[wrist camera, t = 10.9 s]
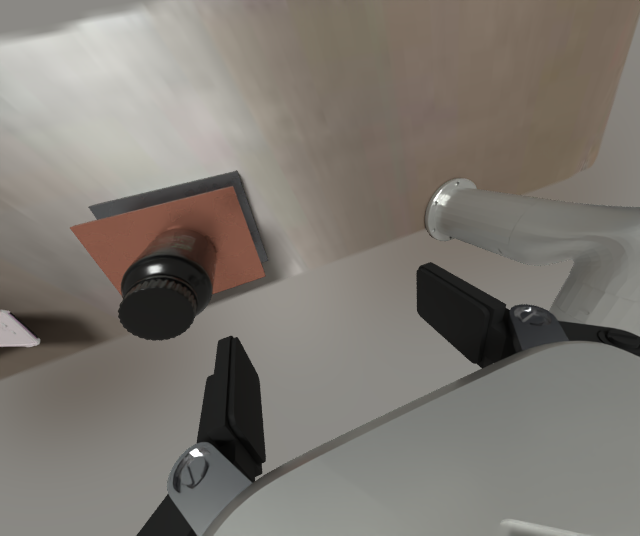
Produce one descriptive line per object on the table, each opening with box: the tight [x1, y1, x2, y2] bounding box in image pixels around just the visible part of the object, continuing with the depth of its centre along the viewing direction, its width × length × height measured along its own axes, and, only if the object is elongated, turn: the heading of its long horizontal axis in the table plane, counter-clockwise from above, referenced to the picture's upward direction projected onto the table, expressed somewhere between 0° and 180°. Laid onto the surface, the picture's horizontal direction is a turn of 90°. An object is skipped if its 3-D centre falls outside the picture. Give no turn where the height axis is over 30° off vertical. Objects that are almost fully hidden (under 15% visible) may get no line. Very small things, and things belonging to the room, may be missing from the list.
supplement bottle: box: [118, 229, 217, 340], centre depth 22 cm, size 7×7×12 cm
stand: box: [70, 171, 268, 295], centre depth 31 cm, size 18×14×8 cm
